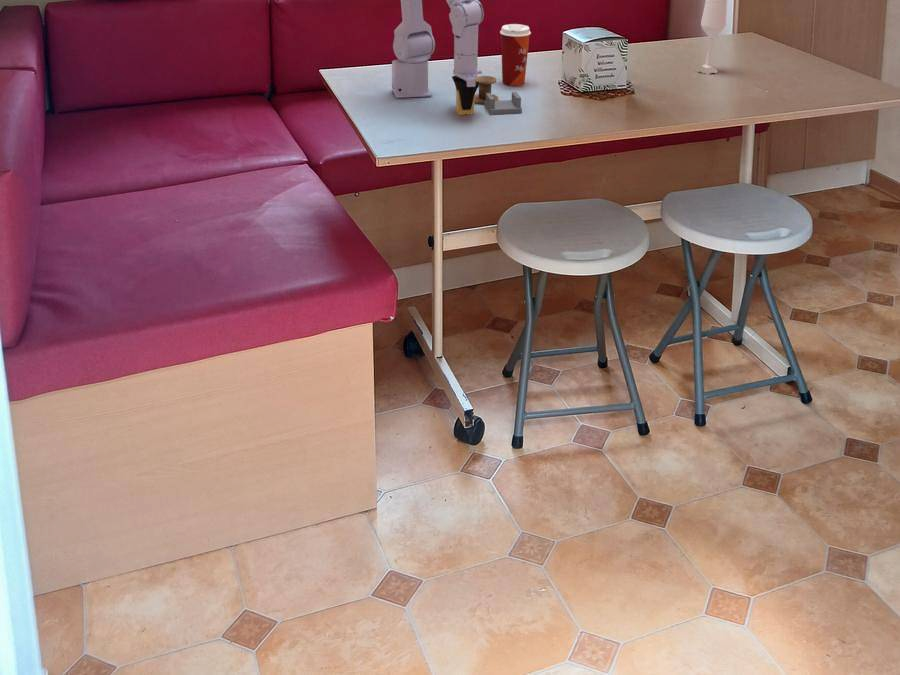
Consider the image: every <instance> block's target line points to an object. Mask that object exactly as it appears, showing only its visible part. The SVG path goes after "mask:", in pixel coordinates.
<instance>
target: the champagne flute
mask: <svg viewBox="0 0 900 675" xmlns="http://www.w3.org/2000/svg"><path fill="white" fill-rule="evenodd" d="M727 1H728V0H705V2H704V6H703V7H704V8H703V12H702V16H701V21H700V27H701V28H702V31H703V32H704V33H705V35H707V36H708V43H707V44H708V45H707V50H706V59H705V64H703V65H702V66H703V67H705V68H711V67H712V66H713V65H711V58H712V50H713V45H714V44H713V43H714V37H716V36H718V35H719V34H720V33H721V32H722V31H723V30H724V29H725V27H726V25H727V24H726V22H727V4H728V3H727Z"/></svg>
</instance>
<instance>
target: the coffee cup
mask: <svg viewBox="0 0 900 675" xmlns="http://www.w3.org/2000/svg"><path fill="white" fill-rule="evenodd" d="M499 33H500V35H501V36H500V37H501V38H500V39H501V42H500V44H501V77H502V79H501V80H502V84H503V85H504V86H508V87H520V86H524V85H525V80H526V73H527V62H528V56H529V54H528V53H529V46H530V45H529V43H530V35H531V34H532V32H531V31H530V27H529V25H525V24H521V23H520V24H519V23H510V24H509V23H508V24H504V25H502V27H501V30H500V31H499Z"/></svg>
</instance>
